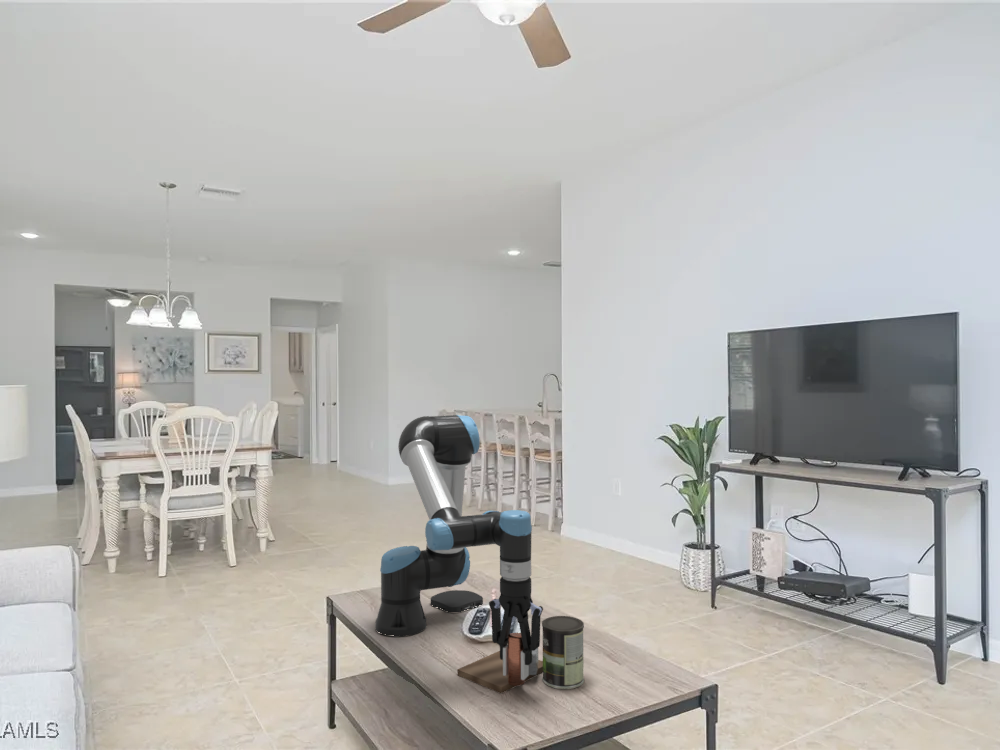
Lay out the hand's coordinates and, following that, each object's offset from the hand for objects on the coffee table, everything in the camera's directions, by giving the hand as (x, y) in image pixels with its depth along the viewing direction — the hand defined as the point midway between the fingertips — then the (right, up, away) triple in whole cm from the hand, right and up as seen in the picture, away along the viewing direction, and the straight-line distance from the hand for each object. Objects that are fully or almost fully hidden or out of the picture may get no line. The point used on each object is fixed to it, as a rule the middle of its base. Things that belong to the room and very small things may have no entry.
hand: (515, 675), depth 160 cm
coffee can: (+12, -4, +6) cm, 14 cm away
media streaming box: (-18, -5, +63) cm, 66 cm away
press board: (-3, -4, +10) cm, 11 cm away
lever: (+2, -2, +7) cm, 8 cm away
